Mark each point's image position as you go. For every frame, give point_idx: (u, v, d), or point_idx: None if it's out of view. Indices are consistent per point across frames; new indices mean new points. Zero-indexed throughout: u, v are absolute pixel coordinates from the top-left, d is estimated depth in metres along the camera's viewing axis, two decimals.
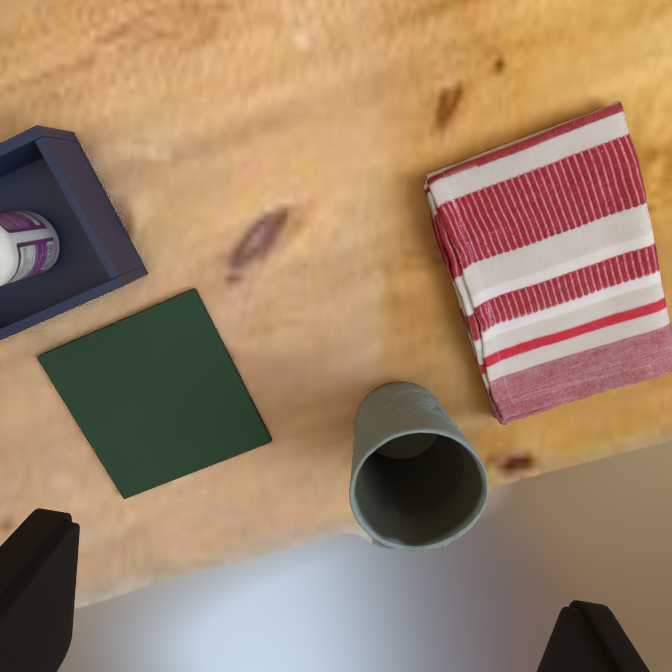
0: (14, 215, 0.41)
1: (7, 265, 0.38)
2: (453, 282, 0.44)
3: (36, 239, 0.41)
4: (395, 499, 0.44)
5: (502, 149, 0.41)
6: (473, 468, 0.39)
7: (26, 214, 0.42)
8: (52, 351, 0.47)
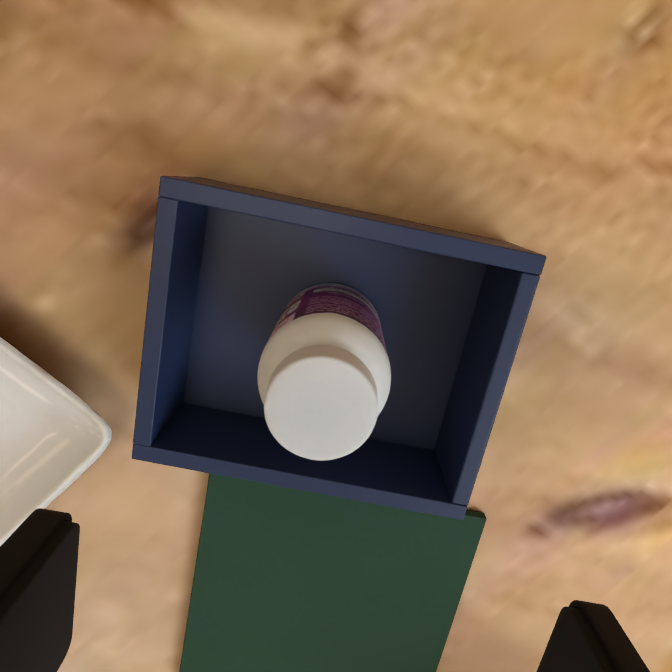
0: (377, 323, 0.23)
1: None
2: None
3: None
4: None
5: None
6: None
7: (376, 315, 0.25)
8: None
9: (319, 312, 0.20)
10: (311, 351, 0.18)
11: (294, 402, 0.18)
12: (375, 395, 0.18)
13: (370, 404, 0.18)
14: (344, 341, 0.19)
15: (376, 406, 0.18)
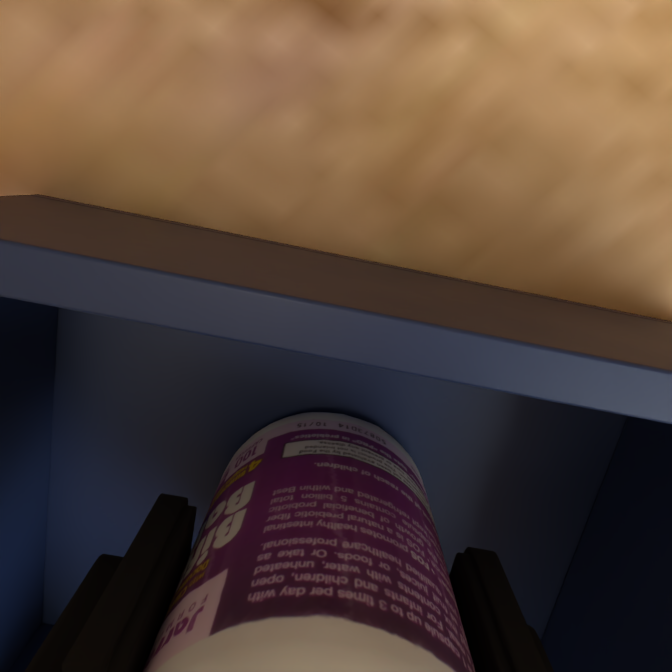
0: (433, 539, 0.10)
1: None
2: None
3: None
4: None
5: None
6: None
7: (421, 493, 0.11)
8: None
9: (289, 611, 0.07)
10: None
11: None
12: None
13: None
14: None
15: None
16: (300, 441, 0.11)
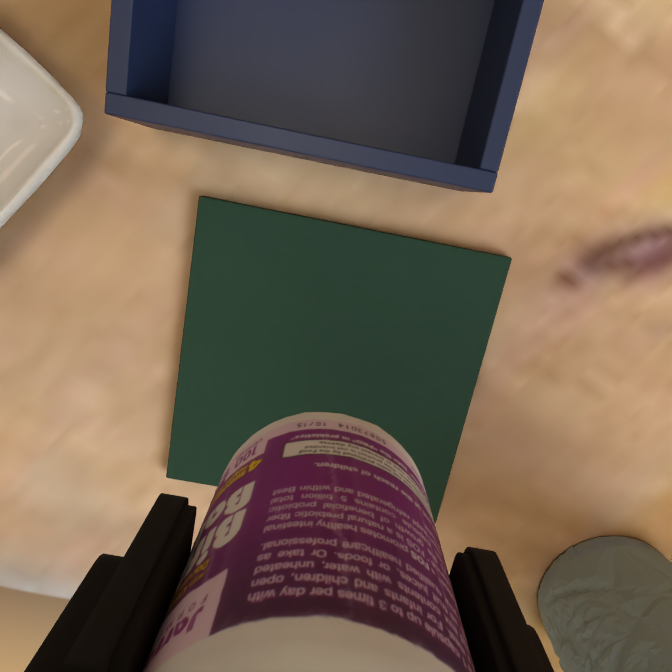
0: (433, 539, 0.10)
1: None
2: None
3: None
4: None
5: None
6: None
7: (421, 493, 0.11)
8: (231, 204, 0.26)
9: (289, 611, 0.07)
10: None
11: None
12: None
13: None
14: None
15: None
16: (300, 441, 0.11)
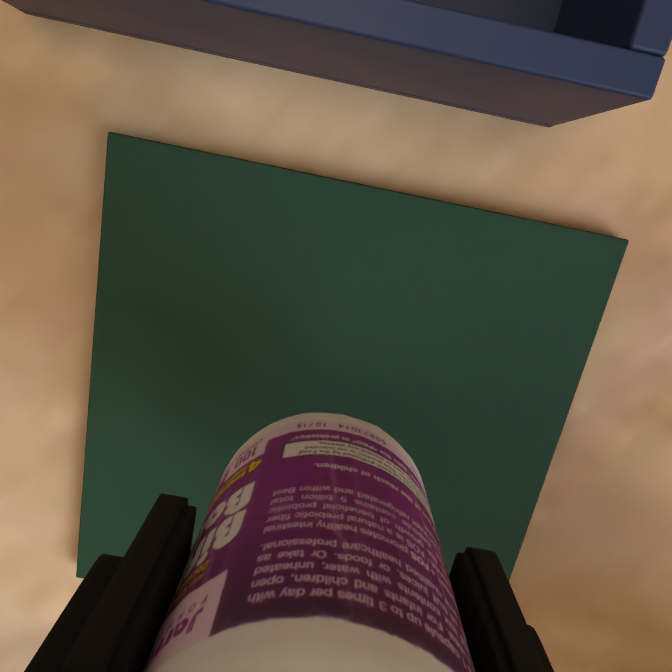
0: (433, 540, 0.10)
1: None
2: None
3: None
4: None
5: None
6: None
7: (421, 494, 0.11)
8: (162, 146, 0.15)
9: (289, 612, 0.07)
10: None
11: None
12: None
13: None
14: None
15: None
16: (300, 442, 0.11)
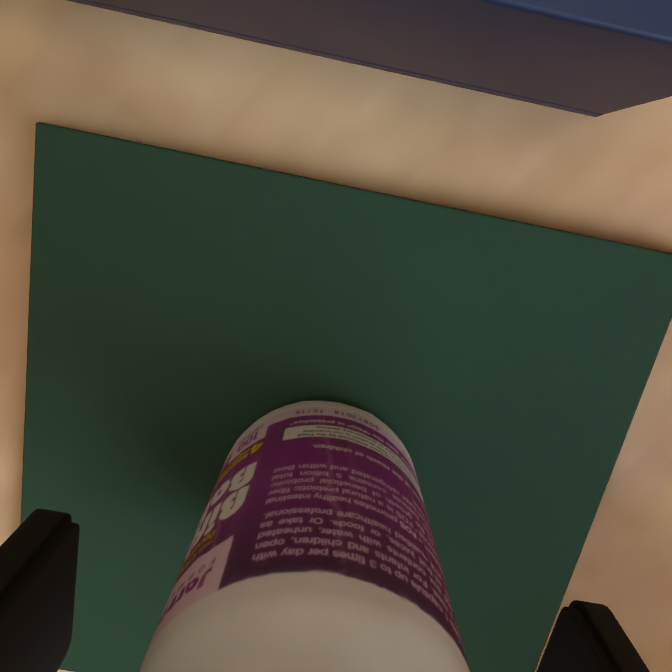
0: (421, 514, 0.11)
1: None
2: None
3: None
4: None
5: None
6: None
7: (412, 475, 0.12)
8: (106, 140, 0.12)
9: (289, 567, 0.08)
10: None
11: None
12: None
13: None
14: None
15: None
16: (299, 426, 0.12)
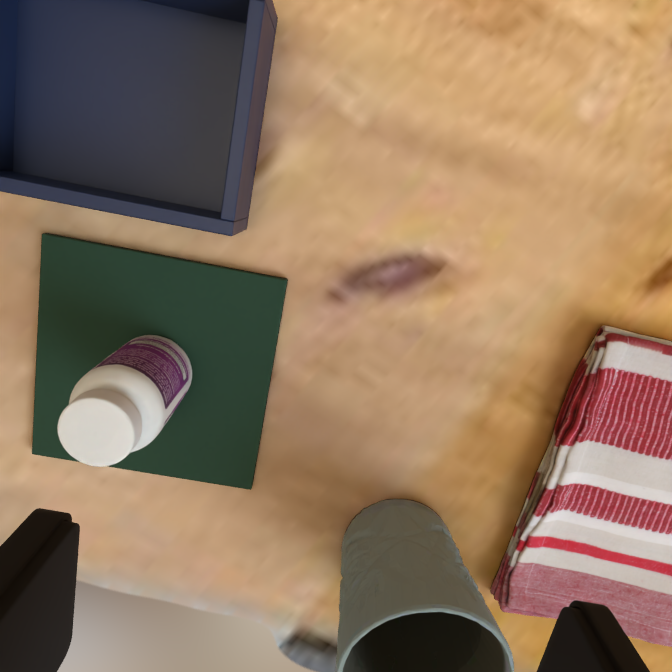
0: (171, 366, 0.33)
1: (142, 445, 0.30)
2: (556, 446, 0.37)
3: (177, 402, 0.33)
4: (364, 645, 0.35)
5: None
6: None
7: (179, 359, 0.34)
8: (67, 239, 0.34)
9: (110, 364, 0.29)
10: (87, 394, 0.27)
11: (77, 428, 0.27)
12: (131, 422, 0.27)
13: (128, 428, 0.27)
14: (121, 385, 0.28)
15: (132, 429, 0.27)
16: (136, 341, 0.34)
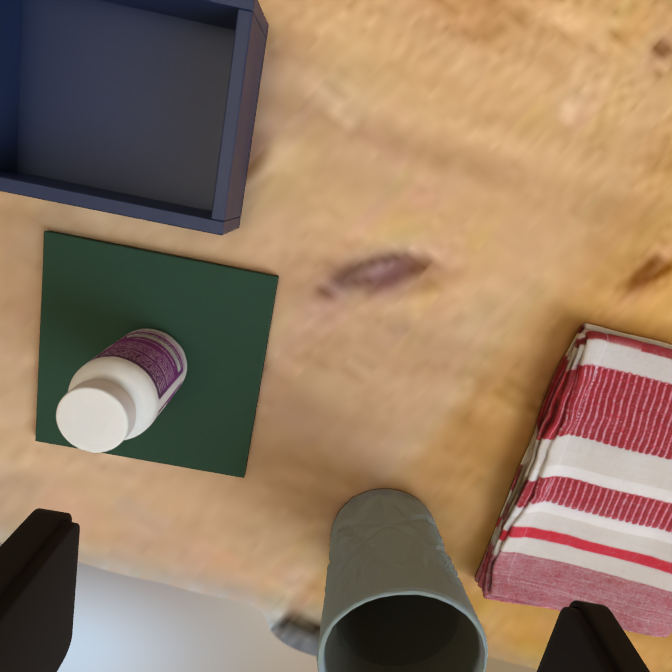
0: (166, 359, 0.34)
1: (136, 433, 0.31)
2: (537, 440, 0.38)
3: (171, 393, 0.35)
4: (348, 627, 0.37)
5: None
6: (464, 656, 0.33)
7: (173, 352, 0.36)
8: (68, 237, 0.35)
9: (106, 356, 0.31)
10: (84, 384, 0.28)
11: (74, 416, 0.28)
12: (125, 411, 0.29)
13: (122, 416, 0.29)
14: (116, 376, 0.30)
15: (126, 418, 0.29)
16: (133, 334, 0.35)
